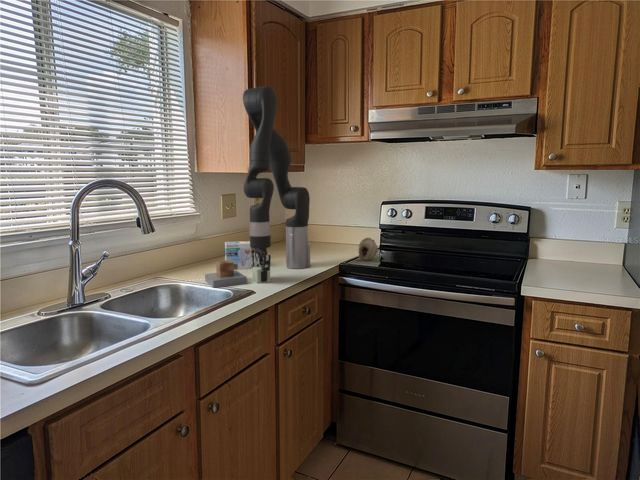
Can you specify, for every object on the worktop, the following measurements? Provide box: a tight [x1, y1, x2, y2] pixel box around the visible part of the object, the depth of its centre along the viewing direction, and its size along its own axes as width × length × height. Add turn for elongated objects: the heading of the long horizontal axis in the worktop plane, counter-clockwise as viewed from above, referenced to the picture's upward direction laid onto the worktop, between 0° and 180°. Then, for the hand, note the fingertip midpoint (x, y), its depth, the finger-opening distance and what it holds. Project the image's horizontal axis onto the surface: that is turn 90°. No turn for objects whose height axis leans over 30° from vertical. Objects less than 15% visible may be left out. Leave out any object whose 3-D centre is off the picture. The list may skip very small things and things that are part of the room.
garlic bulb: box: [357, 237, 378, 261], centre depth 203 cm, size 10×8×10 cm
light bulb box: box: [224, 240, 253, 270], centre depth 188 cm, size 11×7×11 cm, turn 105°
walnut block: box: [215, 259, 235, 278], centre depth 163 cm, size 5×5×5 cm
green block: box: [251, 266, 271, 284], centre depth 165 cm, size 5×5×5 cm
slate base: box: [204, 270, 248, 289], centre depth 164 cm, size 12×12×2 cm
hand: (261, 279), depth 165 cm, fingers closed on green block, 5 cm apart
